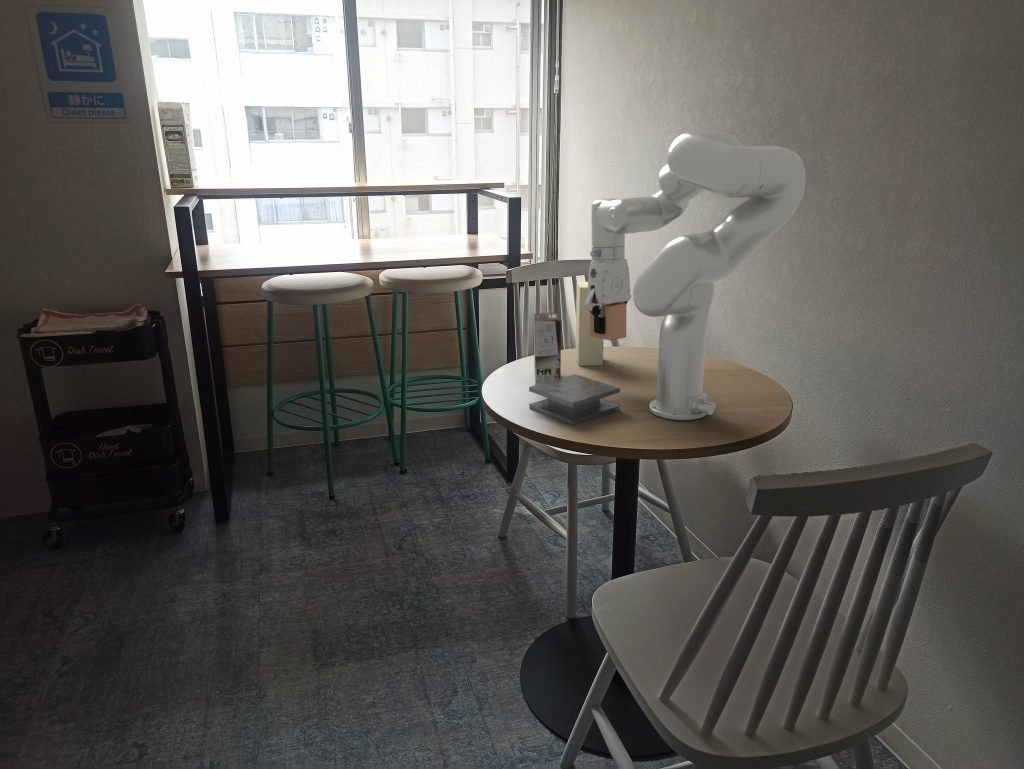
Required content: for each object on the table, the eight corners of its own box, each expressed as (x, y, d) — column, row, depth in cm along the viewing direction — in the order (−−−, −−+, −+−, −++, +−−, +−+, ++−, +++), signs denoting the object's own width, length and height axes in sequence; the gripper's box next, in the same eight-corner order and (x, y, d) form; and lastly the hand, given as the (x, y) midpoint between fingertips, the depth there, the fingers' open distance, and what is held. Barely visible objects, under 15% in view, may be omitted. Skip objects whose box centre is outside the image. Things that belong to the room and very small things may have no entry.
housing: (626, 337, 171) (626, 299, 168) (611, 340, 168) (611, 302, 165) (604, 332, 176) (604, 296, 173) (590, 336, 173) (589, 299, 170)
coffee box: (561, 385, 176) (561, 320, 171) (534, 385, 176) (534, 320, 171) (559, 373, 184) (559, 311, 179) (534, 374, 185) (533, 312, 180)
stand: (619, 409, 158) (619, 388, 157) (572, 425, 150) (573, 402, 149) (575, 394, 169) (575, 374, 167) (529, 408, 160) (529, 386, 159)
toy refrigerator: (606, 365, 191) (607, 286, 184) (578, 366, 191) (579, 287, 184) (602, 357, 198) (603, 281, 192) (575, 357, 198) (575, 281, 192)
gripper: (593, 258, 158) (593, 339, 163) (645, 251, 168) (644, 327, 174) (569, 256, 164) (571, 335, 169) (621, 249, 174) (621, 323, 179)
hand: (608, 330), depth 171 cm, fingers closed on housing, 5 cm apart
